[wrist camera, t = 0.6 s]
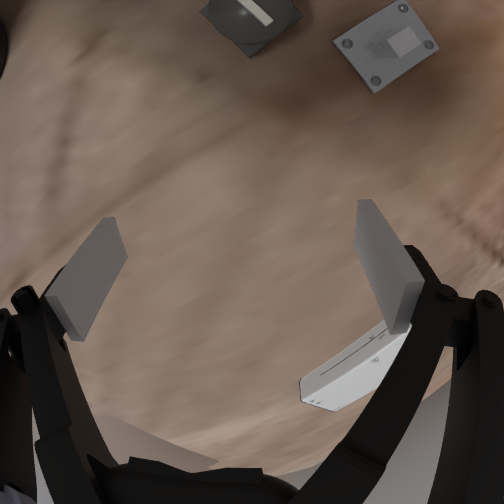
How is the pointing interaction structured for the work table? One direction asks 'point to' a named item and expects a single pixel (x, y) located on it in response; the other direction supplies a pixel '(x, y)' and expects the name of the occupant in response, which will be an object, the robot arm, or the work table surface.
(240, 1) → the knob
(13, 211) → the work table surface
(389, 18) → the mounting plate
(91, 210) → the work table surface
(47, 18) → the work table surface
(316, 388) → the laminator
